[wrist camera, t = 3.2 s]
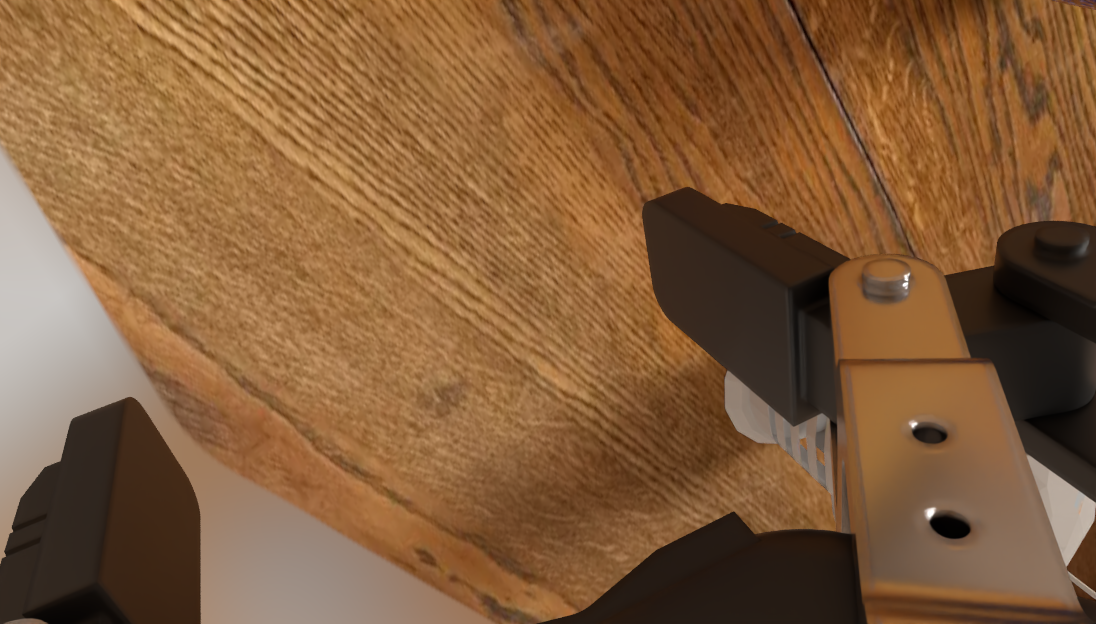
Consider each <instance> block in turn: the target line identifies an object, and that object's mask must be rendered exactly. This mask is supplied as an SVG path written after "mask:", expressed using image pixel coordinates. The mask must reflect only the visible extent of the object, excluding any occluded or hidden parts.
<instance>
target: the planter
mask: <svg viewBox="0 0 1096 624" xmlns="http://www.w3.org/2000/svg"><path fill="white" fill-rule="evenodd" d="M1053 1H1056V2H1060V3H1064V4H1069V5H1074V6H1079V7H1084V8H1089V9H1094V10H1096V0H1053Z"/></svg>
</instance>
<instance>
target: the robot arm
mask: <svg viewBox="0 0 1096 624" xmlns="http://www.w3.org/2000/svg"><path fill="white" fill-rule="evenodd" d="M642 218H643V225H644V232H645V239H646V245H647V252H648V258H649V265H650V272H651V278H652V285H653V289H654V293H655V296H656V299H657V301H658V303H659V305H660V307H661V309H662V311H663V312H664V314H665V315H666V316H667V318H668V319H669V320H670V321H671V322H672V323H674V324H675V325H676V326H677V327H678V328H679V329H681V330H682V331H683V332H684V333H685V334H686V335H688V336H689V337H690V338H691V339H692V340H693V341H695V342H696V343H697V344H698V345H699V346H700V347H702V348H703V349H704V350H705V351H706V352H707V353H708V354H710V355H711V356H712V357H713V358H714V359H715V360H717V361H718V362H719V363H720V364H721V365H722V366H724V367H725V368H726V369H727V370H728V371H729V372H731V373H732V374H733V375H734V376H735V377H736V378H737V379H739V380H740V381H741V382H742V383H743V384H744V385H746V386H747V387H748V388H749V389H750V390H751V391H753V392H754V393H755V394H756V395H757V396H758V397H760V398H761V399H762V400H763V401H764V402H765V403H766V404H768V405H769V406H770V407H771V408H772V409H773V410H775V411H776V412H777V413H778V414H779V415H780V416H782V417H783V418H784V419H785V420H786V421H787V422H789V423H790V424H791V425H792V426H793V427H795V426H797V425H799V424H801V423H803V422H805V421H807V420H809V419H811V418H813V417H815V416H817V415H820V414H822V413H823V414H824V415H825V416H826V417H828V418H829V427H830V451H831V465H832V480H833V494H834V508H835V523H836V532H835V531H828V530H813V529H792V530H779V531H771V532H764V533H759V534H754V533H753V532H752V531H751V530H750V529H749V528H748V526H747V525H746V524H745V523H744V522H743V521H742V520H741V519H740V518H739V516H738V515H737V514H736V513H735V512H732V513H730V514H728V515H726V516H724V517H722V518H720V519H718V520H716V521H714V522H712V523H710V524H708V525H706V526H704V527H702V528H700V529H698V530H696V531H694V532H692V533H690V534H688V535H686V536H684V537H682V538H680V539H678V540H676V541H674V542H672V543H670V544H668V545H666V546H664V547H662V548H660V549H658V550H656V551H655V552H654V553H652V554H651V555H650V556H649V557H648V558H646V559H645V560H644V561H643V562H642V563H640V564H639V565H638V566H637V567H636V568H634V569H633V570H632V571H631V572H630V573H629V574H627V575H626V576H625V577H624V578H623V579H621V580H620V581H619V582H618V583H617V584H615V585H614V586H613V587H612V588H611V589H609V590H608V591H607V592H606V593H605V594H604V595H602V596H601V597H600V598H599V599H598V600H596V601H595V602H594V603H593V604H592V605H590V606H589V607H588V608H586V609H585V610H583V611H581V612H579V613H576V614H573V615H570V616H566V617H562V618H558V619H554V620H550V621H546V622H542V623H538V624H1096V601H1093V600H1089V599H1085V598H1082V597H1078V596H1076V593H1075V590H1074V588H1073V585H1072V582H1071V579H1070V576H1069V574H1068V571H1067V568H1066V565H1065V562H1064V560H1063V557H1062V554H1061V551H1060V548H1059V546H1058V543H1057V540H1056V537H1055V534H1054V532H1053V529H1052V526H1051V523H1050V520H1049V518H1048V515H1047V512H1046V509H1045V506H1044V503H1043V501H1042V498H1041V495H1040V492H1039V489H1038V487H1037V484H1036V481H1035V478H1034V475H1033V473H1032V470H1031V467H1030V464H1029V461H1028V459H1027V456H1026V453H1027V454H1028V455H1029V456H1031V457H1032V458H1034V459H1035V460H1036V461H1038V462H1039V463H1041V464H1042V465H1043V466H1045V467H1046V468H1048V469H1049V470H1050V471H1052V472H1053V473H1055V474H1056V475H1057V476H1059V477H1060V478H1062V479H1063V480H1064V481H1066V482H1067V483H1069V484H1070V485H1071V486H1073V487H1074V488H1076V489H1077V490H1078V491H1080V492H1081V493H1083V494H1084V495H1085V496H1087V497H1088V498H1089V499H1091V500H1092V501H1094V502H1095V503H1096V227H1095V226H1091V225H1087V224H1082V223H1076V222H1066V221H1041V222H1033V223H1028V224H1023V225H1020V226H1016V227H1014V228H1012V229H1009V230H1008V231H1006V232H1005V233H1003V234H1002V235H1001V236H1000V237H999V239H998V242H997V248H996V256H995V264H994V266H990V267H985V268H980V269H974V270H969V271H964V272H959V273H954V274H949V275H943V273H942V272H941V271H940V270H939V269H938V268H937V267H935V266H934V265H932V264H930V263H929V262H927V261H924V260H921V259H919V258H915V257H911V256H906V255H899V254H874V255H867V256H861V257H858V258H854V259H849V258H847V257H845V256H843V255H842V254H840V253H838V252H836V251H834V250H832V249H830V248H828V247H826V246H825V245H823V244H821V243H819V242H817V241H815V240H813V239H811V238H809V237H808V236H806V235H804V234H802V233H800V232H799V233H796V232H795V230H794V229H792V228H791V227H789V226H787V225H785V224H783V223H780V224H778V222H777V220H775V219H773V218H772V217H770V216H768V215H766V214H764V213H762V212H760V211H758V210H756V209H753V208H748V207H743V206H738V205H733V204H728V203H725V204H722V205H721V204H720V203H718V202H716V201H714V200H712V199H711V198H709V197H707V196H705V195H703V194H702V193H700V192H698V191H696V190H694V189H693V188H690V187H685V188H682V189H680V190H677V191H674V192H672V193H669V194H666V195H664V196H661V197H658V198H656V199H653V200H651V201H648V202H646V203H645V204H644V206H643V211H642ZM12 529H13V533H10V535H9V538H8V541H7V545H6V548H5V551H4V552H5V554H6V557H4V558H2V561H1V564H0V624H201V623H200V622H201V621H200V620H201V616H200V615H201V613H200V511H199V505H198V502H197V498H196V496H195V492H194V490H193V487H192V485H191V483H190V481H189V479H188V477H187V475H186V474H185V472H184V471H183V469H182V467H181V466H180V464H179V463H178V461H177V460H176V458H175V457H174V455H173V453H172V452H171V450H170V449H169V447H168V446H167V444H166V442H165V441H164V439H163V438H162V436H161V435H160V433H159V431H158V430H157V428H156V427H155V425H154V424H153V422H152V420H151V419H150V417H149V416H148V414H147V413H146V412H145V410H144V408H143V407H142V406H141V404H140V403H139V402H138V401H137V400H136V399H134V398H132V397H128V398H125V399H122V400H120V401H117V402H115V403H112V404H109V405H107V406H104V407H101V408H99V409H96V410H93V411H91V412H88V413H86V414H83V415H80V416H78V417H75V418H73V419H72V421H71V423H70V426H69V430H68V434H67V438H66V442H65V446H64V450H63V454H62V458H61V461H60V462H57V463H55V464H52V465H50V466H47V467H45V468H44V469H43V470H42V472H41V473H40V474H39V475H38V477H37V478H36V479H35V481H34V482H33V483H32V485H31V486H30V487H29V489H28V490H27V491H26V492H25V494H24V495H23V496H22V498H21V499H20V502H19V506H18V509H17V512H16V515H15V519H14V522H13V525H12Z"/></svg>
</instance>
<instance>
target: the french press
mask: <svg viewBox="0 0 1096 624" xmlns="http://www.w3.org/2000/svg"><path fill="white" fill-rule="evenodd" d="M725 409H726V411H727V413H728V415H729V417H730V419H731V421H732V422H733V424H734V426H735V428H736V430H737V431H738V432H740V433H742V434H743V435H745V436H747V437H749V438H750V439H752V440H754V441H756V442H757V443H773V444H779V445H780V446H781V447H782V448H783V449H784V450H785V451H786V452H787V453H788V454H789V455H790V456H791V457H792V458H793V459H794V460H795V461H796V462H798V463H799V464H800V465H801V466H802V467H803V468H804V469H805V470H806V471H807V472H808V473H809V474H810V475H811V476H812V477H813V478H814V479H815V480H817V481H818V482H819V483H820V484H821V485H822V486H823V487H824V488H825V489H826V490H827V491H828V492H829V493H830V494H831V499H832V509H833V515H834V518H835V508H834V494H833V480H832V465H831V451H830V427H829V418H828V417H826V416H825V415H824V414H823V413H822V414H820V415H817V416H815V417H813V418H811V419H809V420H807V421H805V422H803V423H801V424H799V425H797V426H795V427H793V426H792V425H791V424H790V423H789V422H787V421H786V420H785V419H784V418H783V417H782V416H780V415H779V414H778V413H777V412H776V411H775V410H773V409H772V408H771V407H770V406H769V405H768V404H766V403H765V402H764V401H763V400H762V399H761V398H760V397H758V396H757V395H756V394H755V393H754V392H753V391H751V390H750V389H749V388H748V387H747V386H746V385H744V384H743V383H742V382H741V381H740V380H739V379H737V378H736V377H735V376H734V375H733V374H732V373H731V372H729V371H727V374H726V376H725ZM805 437H807V450H806V449H805V448H804V447H803V446H802V445H801V444H800V439H802V438H805ZM816 446H817V447H818V448H819V449H820V450H821V451H822V452H823V453H824V456H825V466H824V465H823V464H822V463H820V462H819V461H818V460H817V454H816ZM1026 456H1027V459H1028V461H1029V464H1030V467H1031V470H1032V473H1033V475H1034V478H1035V481H1036V484H1037V487H1038V489H1039V492H1040V495H1041V498H1042V501H1043V503H1044V506H1045V509H1046V512H1047V515H1048V518H1049V520H1050V523H1051V526H1052V529H1053V532H1054V534H1055V537H1056V540H1057V543H1058V546H1059V548H1060V551H1061V554H1062V557H1063V560H1064V562H1065V565H1066V567H1067V565H1068V564H1069V562H1070V560H1071V559H1072V557H1073V555H1074V554H1075V552H1076V550H1077V549H1078V547H1079V545H1080V544H1081V542H1082V540H1083V539H1084V537H1085V535H1086V534H1087V532H1088V530H1089V528H1090V527H1091V525H1092V523H1093V522H1094V519H1095V507H1096V503H1095V502H1094V501H1092V500H1091V499H1089V498H1088V497H1087V496H1085V495H1084V494H1083V493H1081V492H1080V491H1078V490H1077V489H1076V488H1074V487H1073V486H1071V485H1070V484H1069V483H1067V482H1066V481H1064V480H1063V479H1062V478H1060V477H1059V476H1057V475H1056V474H1055V473H1053V472H1052V471H1050V470H1049V469H1048V468H1046V467H1045V466H1043V465H1042V464H1041V463H1039V462H1038V461H1036V460H1035V459H1034V458H1032V457H1031V456H1029V455H1028V454H1027V453H1026ZM1068 574H1069V576H1070V579H1071V581H1072V582H1074V583H1075V584H1076V585H1078V586H1079V587H1080V588H1081V589H1083V590H1084V591H1085V592H1087V593H1088V594H1089V595H1090V596H1092V597H1093V598H1094V599H1096V592H1094V591H1093V590H1092V589H1090V588H1089V587H1088V586H1087V585H1085V584H1084V583H1083V582H1081V581H1080V580H1079V579H1077V578H1076V577H1075V576H1073V575H1072V574H1071V573H1070V572H1068Z"/></svg>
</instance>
